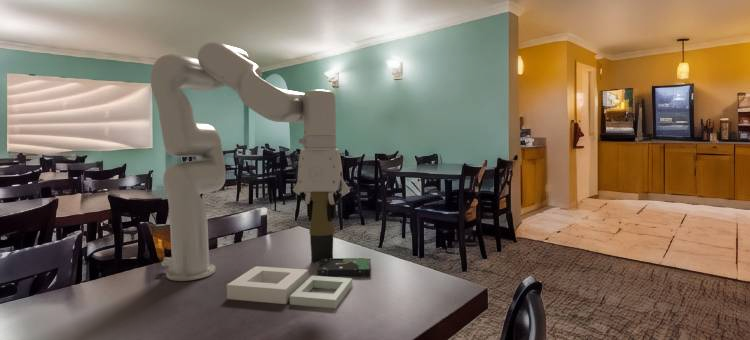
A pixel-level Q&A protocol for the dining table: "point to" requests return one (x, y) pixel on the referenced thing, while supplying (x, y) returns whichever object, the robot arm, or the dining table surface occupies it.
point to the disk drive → (344, 267)
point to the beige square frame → (267, 284)
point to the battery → (321, 247)
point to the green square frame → (320, 299)
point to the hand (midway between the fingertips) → (321, 219)
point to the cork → (320, 215)
